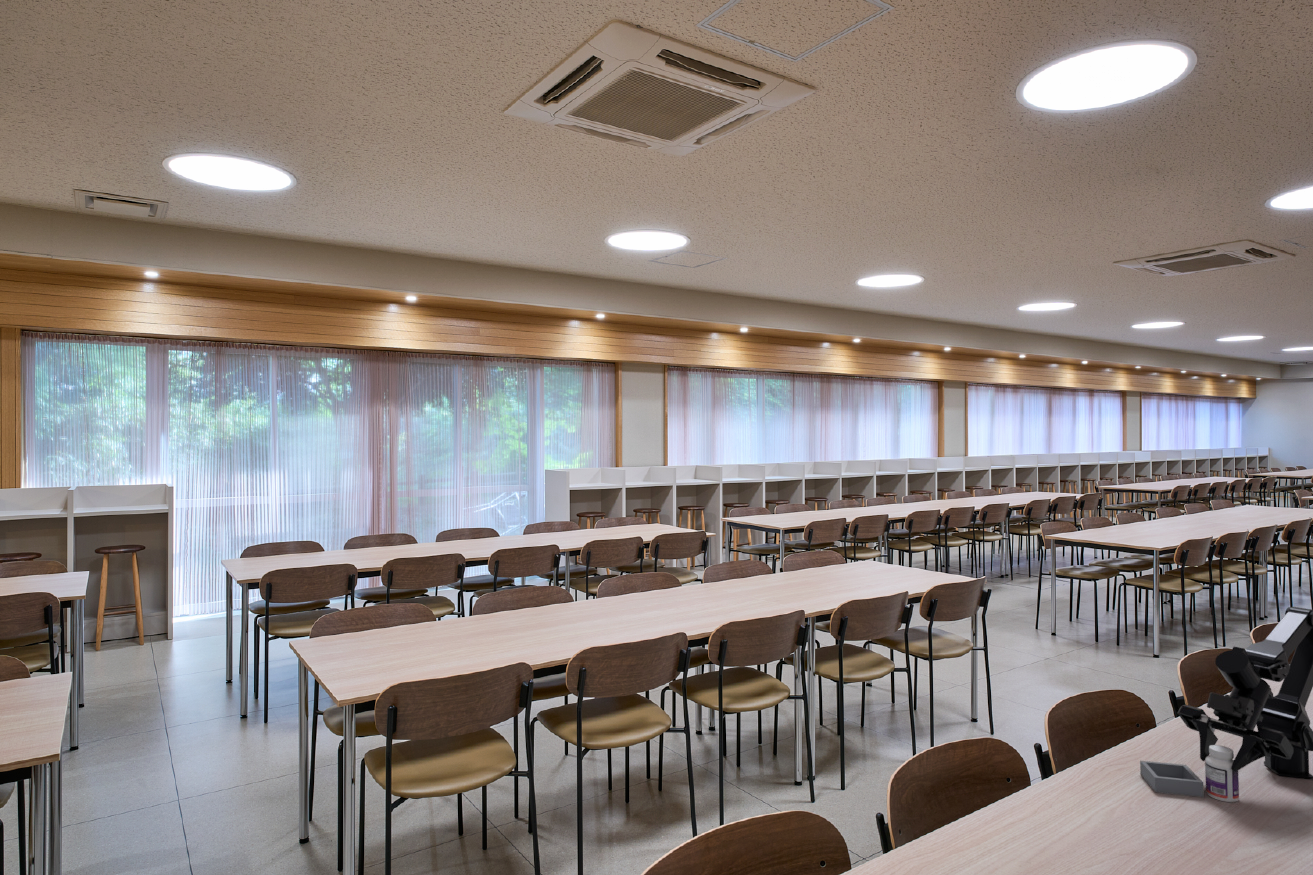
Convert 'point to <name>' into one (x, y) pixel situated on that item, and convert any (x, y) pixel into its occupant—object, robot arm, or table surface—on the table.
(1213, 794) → the pill bottle
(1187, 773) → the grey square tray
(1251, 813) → the table surface
